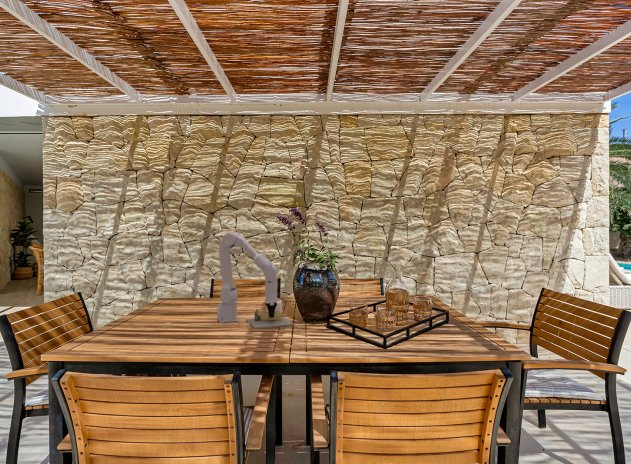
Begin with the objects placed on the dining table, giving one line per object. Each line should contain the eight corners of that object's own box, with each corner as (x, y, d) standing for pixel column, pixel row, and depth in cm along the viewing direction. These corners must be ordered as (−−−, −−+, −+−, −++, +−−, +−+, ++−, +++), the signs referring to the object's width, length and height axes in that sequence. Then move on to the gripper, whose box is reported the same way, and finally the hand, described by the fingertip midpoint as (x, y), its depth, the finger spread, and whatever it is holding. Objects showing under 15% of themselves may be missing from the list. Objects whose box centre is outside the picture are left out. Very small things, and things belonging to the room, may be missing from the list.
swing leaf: (282, 319, 229) (282, 311, 229) (254, 320, 227) (254, 312, 227) (281, 318, 232) (281, 310, 231) (254, 319, 229) (254, 310, 229)
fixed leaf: (255, 321, 227) (255, 310, 227) (253, 320, 229) (253, 309, 229) (281, 319, 232) (281, 308, 232) (279, 318, 234) (279, 307, 234)
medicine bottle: (282, 313, 249) (282, 291, 249) (279, 316, 242) (280, 293, 242) (269, 313, 250) (269, 291, 250) (266, 316, 243) (266, 293, 243)
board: (255, 329, 214) (255, 327, 214) (245, 320, 231) (245, 319, 231) (294, 325, 221) (294, 324, 221) (282, 317, 238) (282, 316, 238)
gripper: (280, 291, 221) (280, 320, 221) (278, 287, 235) (278, 314, 235) (265, 292, 220) (265, 320, 220) (264, 288, 234) (264, 314, 234)
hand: (271, 317), depth 227 cm, fingers closed
